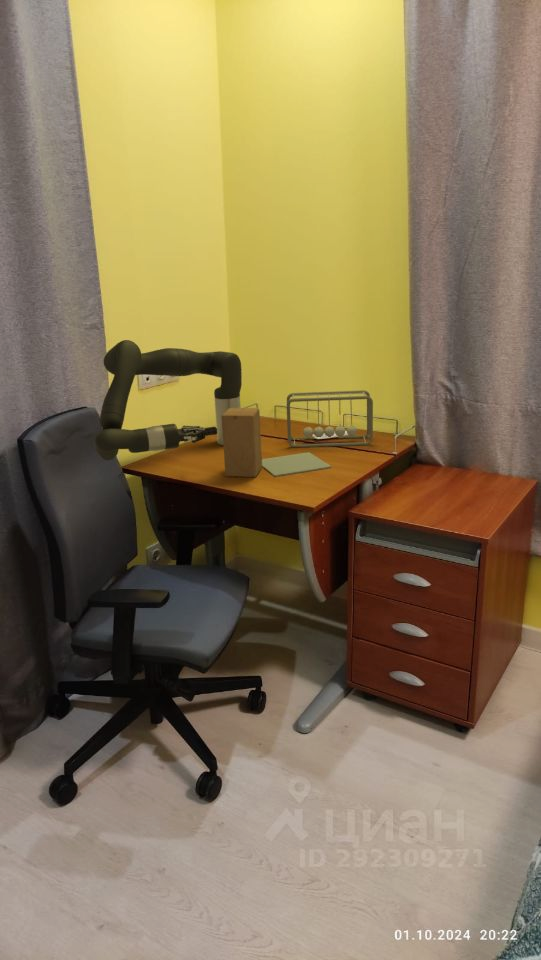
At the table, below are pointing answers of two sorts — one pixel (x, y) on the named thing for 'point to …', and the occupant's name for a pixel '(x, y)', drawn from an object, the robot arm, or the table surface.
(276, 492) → the table surface
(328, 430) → the newton's cradle
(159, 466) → the table surface
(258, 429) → the wooden block
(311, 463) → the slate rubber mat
